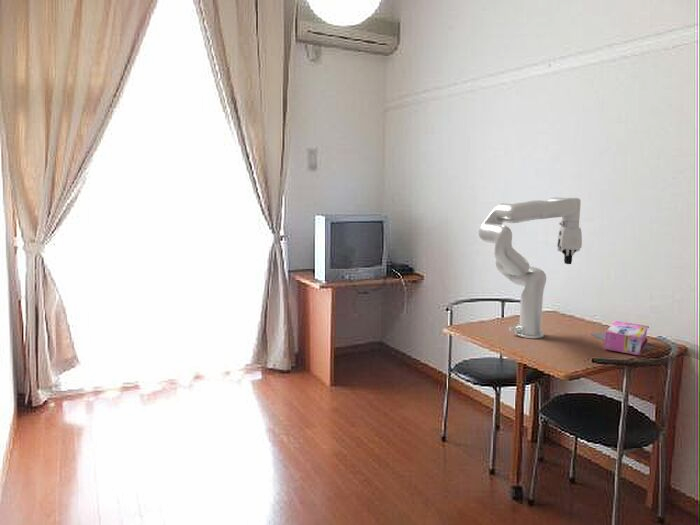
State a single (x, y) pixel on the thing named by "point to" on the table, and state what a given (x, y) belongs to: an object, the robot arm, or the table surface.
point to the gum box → (626, 337)
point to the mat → (602, 336)
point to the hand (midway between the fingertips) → (567, 263)
